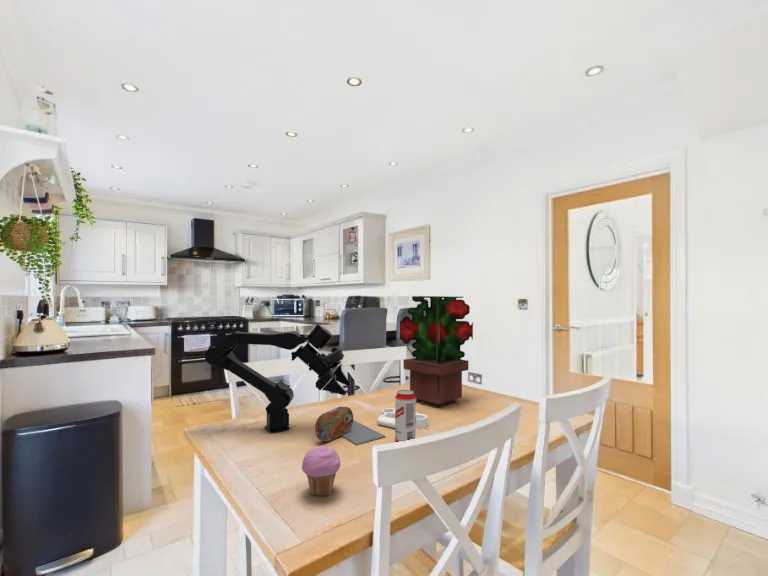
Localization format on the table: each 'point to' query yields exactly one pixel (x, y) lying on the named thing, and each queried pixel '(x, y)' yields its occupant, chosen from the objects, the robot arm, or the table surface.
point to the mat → (361, 434)
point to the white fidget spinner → (389, 418)
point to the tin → (334, 423)
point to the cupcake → (321, 469)
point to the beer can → (405, 415)
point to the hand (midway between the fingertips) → (347, 389)
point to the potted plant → (436, 348)
